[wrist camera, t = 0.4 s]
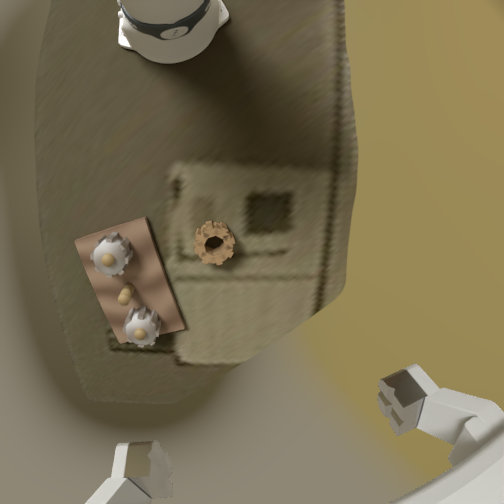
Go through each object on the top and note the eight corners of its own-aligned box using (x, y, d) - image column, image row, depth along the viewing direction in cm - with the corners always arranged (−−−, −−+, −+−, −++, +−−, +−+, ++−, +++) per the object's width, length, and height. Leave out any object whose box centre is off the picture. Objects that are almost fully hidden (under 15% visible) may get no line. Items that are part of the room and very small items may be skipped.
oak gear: (189, 226, 51) (188, 232, 48) (227, 215, 52) (229, 221, 48) (200, 261, 54) (200, 269, 50) (236, 251, 54) (239, 259, 51)
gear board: (77, 238, 49) (63, 250, 43) (146, 216, 50) (139, 226, 44) (121, 339, 57) (114, 358, 50) (185, 324, 58) (184, 344, 51)
